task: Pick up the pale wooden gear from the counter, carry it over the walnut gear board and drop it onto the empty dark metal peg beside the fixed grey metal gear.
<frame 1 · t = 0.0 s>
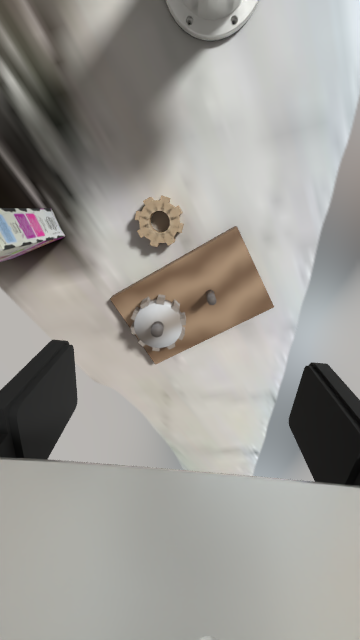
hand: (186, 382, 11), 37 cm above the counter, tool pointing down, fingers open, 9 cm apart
candy bar box: (30, 233, 45), on the counter
gear board: (191, 299, 49), on the counter
wooden gear: (161, 221, 44), on the counter
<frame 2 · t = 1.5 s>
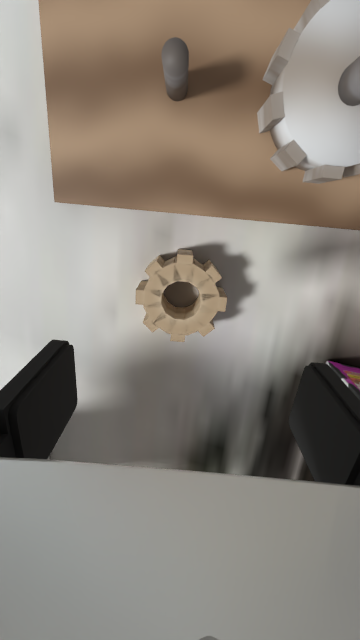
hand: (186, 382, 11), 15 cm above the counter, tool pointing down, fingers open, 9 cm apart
gear board: (226, 104, 19), on the counter
wooden gear: (181, 290, 25), on the counter
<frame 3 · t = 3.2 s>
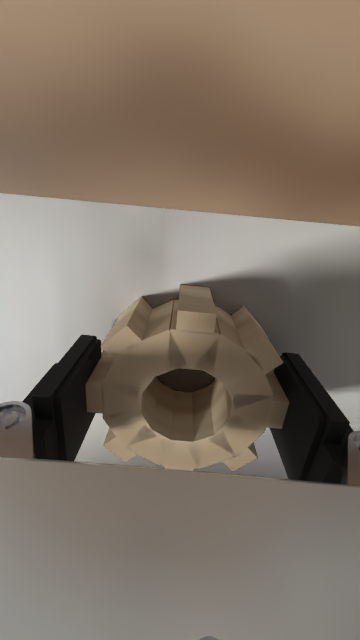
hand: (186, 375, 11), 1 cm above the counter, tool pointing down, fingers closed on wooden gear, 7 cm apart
wooden gear: (186, 362, 12), on the counter, touching gripper
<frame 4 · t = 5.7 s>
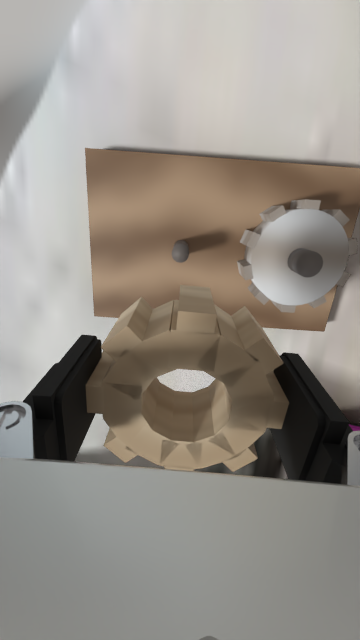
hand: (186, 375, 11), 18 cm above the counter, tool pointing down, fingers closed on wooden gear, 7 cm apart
gear board: (215, 247, 27), on the counter
wooden gear: (186, 363, 12), point 17 cm above the counter, touching gripper
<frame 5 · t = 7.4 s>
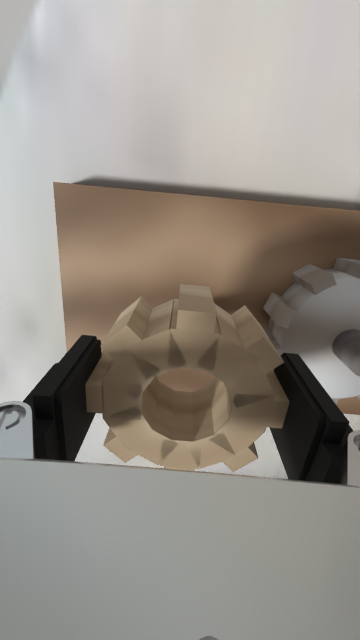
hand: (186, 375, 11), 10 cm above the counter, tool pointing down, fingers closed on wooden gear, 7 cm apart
gear board: (229, 307, 21), on the counter
wooden gear: (186, 362, 12), point 9 cm above the counter, touching gripper
when the fingers open (8 cm above the counter, at t = 8.5 s): wooden gear drops 4 cm, resting on gear board.
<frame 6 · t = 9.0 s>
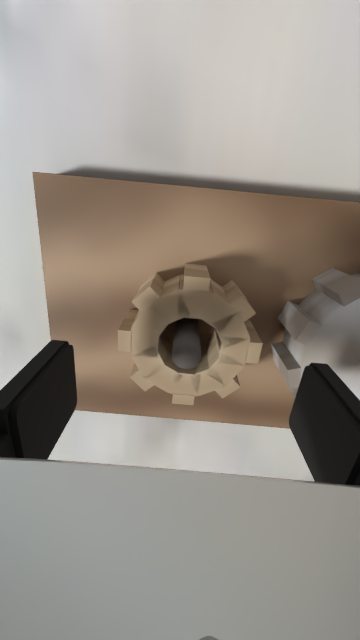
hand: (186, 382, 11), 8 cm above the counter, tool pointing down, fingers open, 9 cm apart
gear board: (238, 316, 19), on the counter
wooden gear: (189, 323, 17), point 2 cm above the counter, touching gear board
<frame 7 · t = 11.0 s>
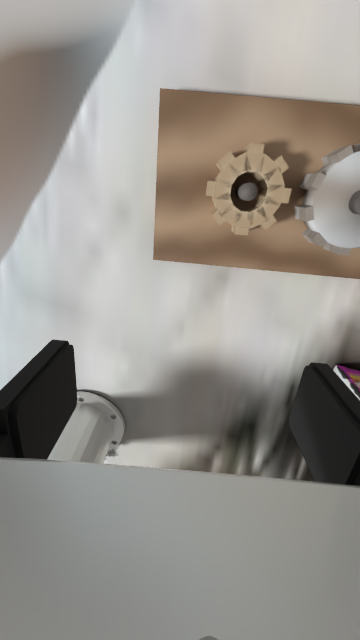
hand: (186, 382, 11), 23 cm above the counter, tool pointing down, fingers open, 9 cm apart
gear board: (272, 194, 29), on the counter
wooden gear: (243, 192, 27), point 2 cm above the counter, touching gear board
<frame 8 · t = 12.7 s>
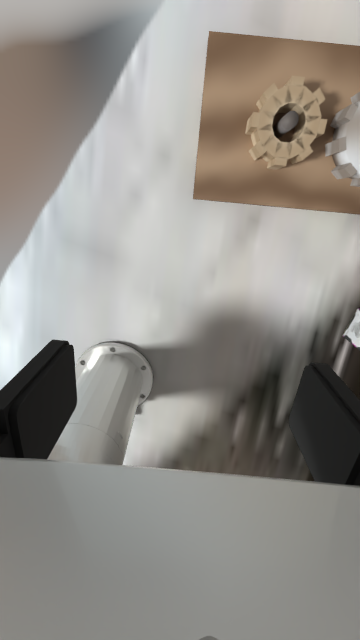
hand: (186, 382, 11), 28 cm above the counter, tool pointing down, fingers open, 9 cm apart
gear board: (303, 137, 31), on the counter
wooden gear: (279, 130, 30), point 2 cm above the counter, touching gear board
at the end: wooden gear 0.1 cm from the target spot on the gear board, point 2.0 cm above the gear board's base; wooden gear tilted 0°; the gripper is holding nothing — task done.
